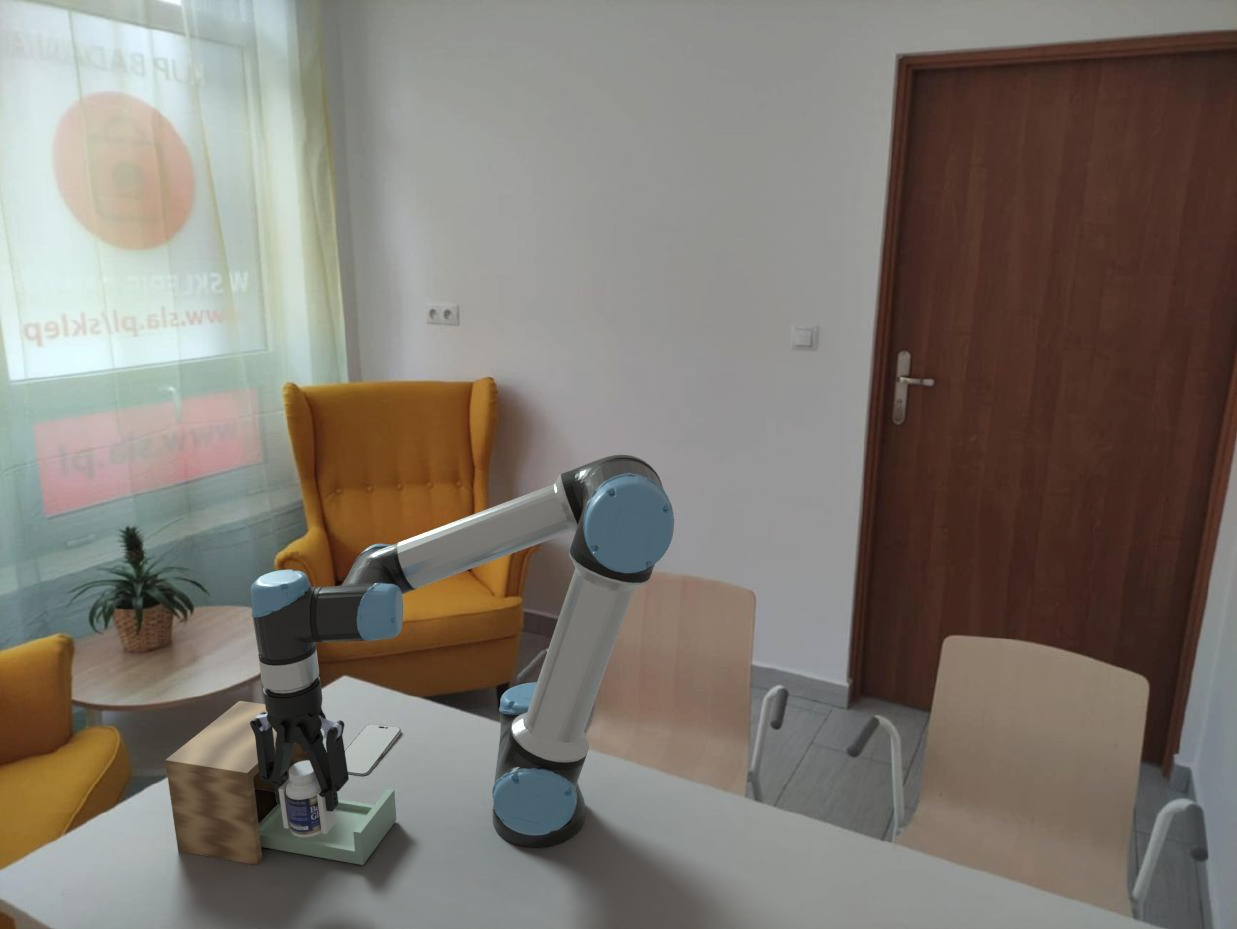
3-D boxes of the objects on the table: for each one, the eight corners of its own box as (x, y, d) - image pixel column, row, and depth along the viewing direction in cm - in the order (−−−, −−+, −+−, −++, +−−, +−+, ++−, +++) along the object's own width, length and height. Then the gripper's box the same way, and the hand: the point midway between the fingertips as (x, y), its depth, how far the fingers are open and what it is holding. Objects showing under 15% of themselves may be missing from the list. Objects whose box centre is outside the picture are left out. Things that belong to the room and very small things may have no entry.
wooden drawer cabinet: (321, 794, 154) (313, 711, 150) (257, 865, 137) (247, 773, 133) (249, 783, 157) (239, 700, 153) (178, 850, 140) (165, 760, 136)
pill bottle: (317, 841, 128) (310, 781, 126) (283, 836, 129) (275, 777, 127) (336, 817, 133) (329, 759, 131) (303, 813, 134) (296, 755, 132)
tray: (396, 820, 147) (394, 789, 146) (363, 865, 137) (360, 832, 136) (291, 802, 152) (288, 773, 150) (251, 845, 141) (247, 813, 140)
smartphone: (328, 769, 161) (367, 723, 175) (329, 775, 161) (368, 728, 175) (366, 774, 159) (402, 727, 173) (367, 780, 160) (403, 732, 174)
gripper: (365, 674, 127) (380, 817, 133) (249, 662, 131) (269, 801, 137) (337, 701, 119) (354, 850, 126) (215, 687, 124) (238, 833, 130)
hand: (310, 824), depth 131 cm, fingers closed on pill bottle, 5 cm apart
